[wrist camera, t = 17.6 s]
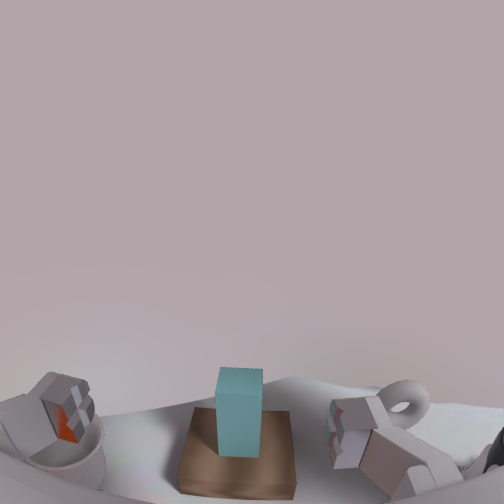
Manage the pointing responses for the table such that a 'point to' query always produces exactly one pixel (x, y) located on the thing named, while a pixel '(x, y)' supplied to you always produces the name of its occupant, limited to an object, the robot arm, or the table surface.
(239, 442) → the teal block
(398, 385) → the donut
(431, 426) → the table surface
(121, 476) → the table surface
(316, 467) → the table surface
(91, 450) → the teacup
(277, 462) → the oak base
